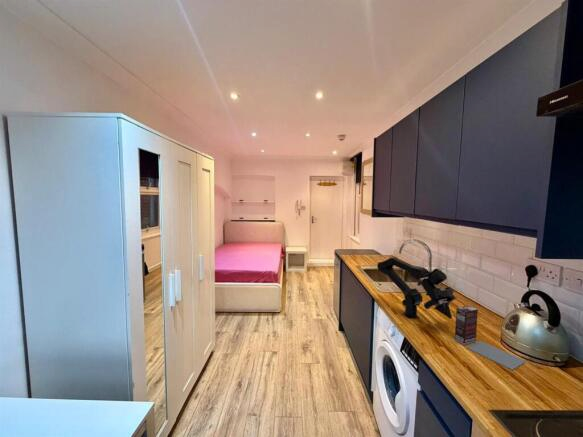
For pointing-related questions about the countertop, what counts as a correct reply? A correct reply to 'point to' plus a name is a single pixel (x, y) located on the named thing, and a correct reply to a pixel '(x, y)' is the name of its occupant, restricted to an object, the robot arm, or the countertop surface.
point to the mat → (496, 355)
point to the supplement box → (466, 324)
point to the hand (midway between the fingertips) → (451, 318)
